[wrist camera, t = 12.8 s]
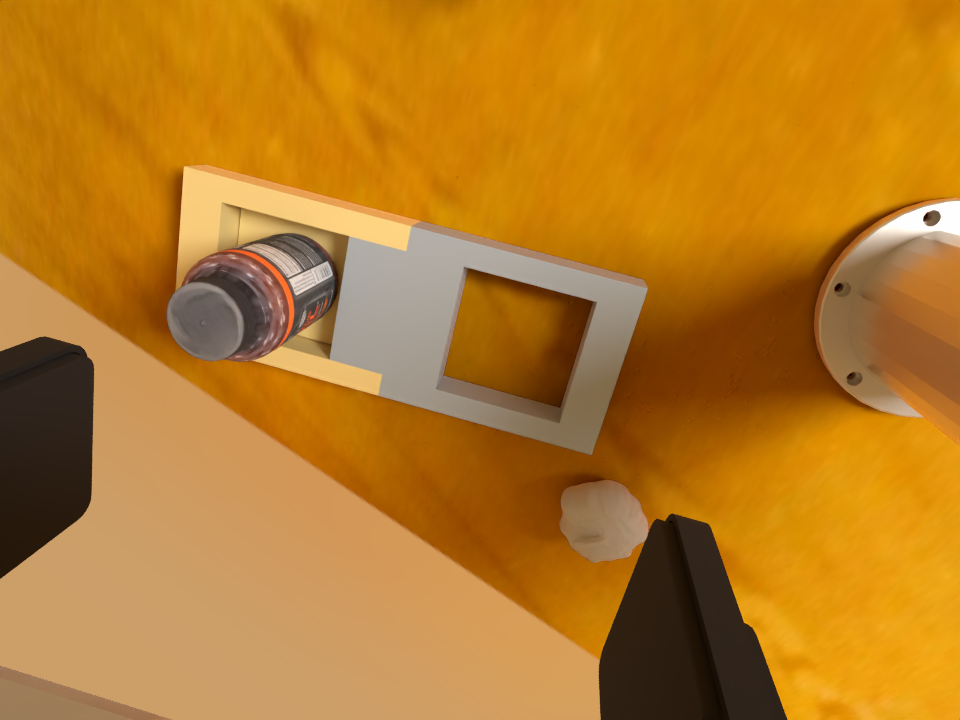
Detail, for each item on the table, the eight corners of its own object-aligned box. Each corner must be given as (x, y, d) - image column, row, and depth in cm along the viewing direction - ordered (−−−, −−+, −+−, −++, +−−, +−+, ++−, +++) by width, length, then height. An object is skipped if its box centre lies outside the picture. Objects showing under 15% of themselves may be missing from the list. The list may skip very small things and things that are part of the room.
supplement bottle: (303, 339, 43) (213, 405, 32) (236, 275, 42) (121, 320, 31) (361, 279, 41) (285, 328, 30) (292, 210, 40) (189, 235, 29)
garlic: (545, 518, 45) (541, 565, 40) (572, 454, 43) (571, 494, 38) (626, 547, 45) (633, 597, 40) (657, 484, 43) (667, 528, 38)
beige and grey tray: (643, 279, 38) (648, 288, 36) (590, 437, 42) (591, 455, 40) (206, 164, 40) (183, 166, 37) (193, 327, 44) (172, 338, 41)
